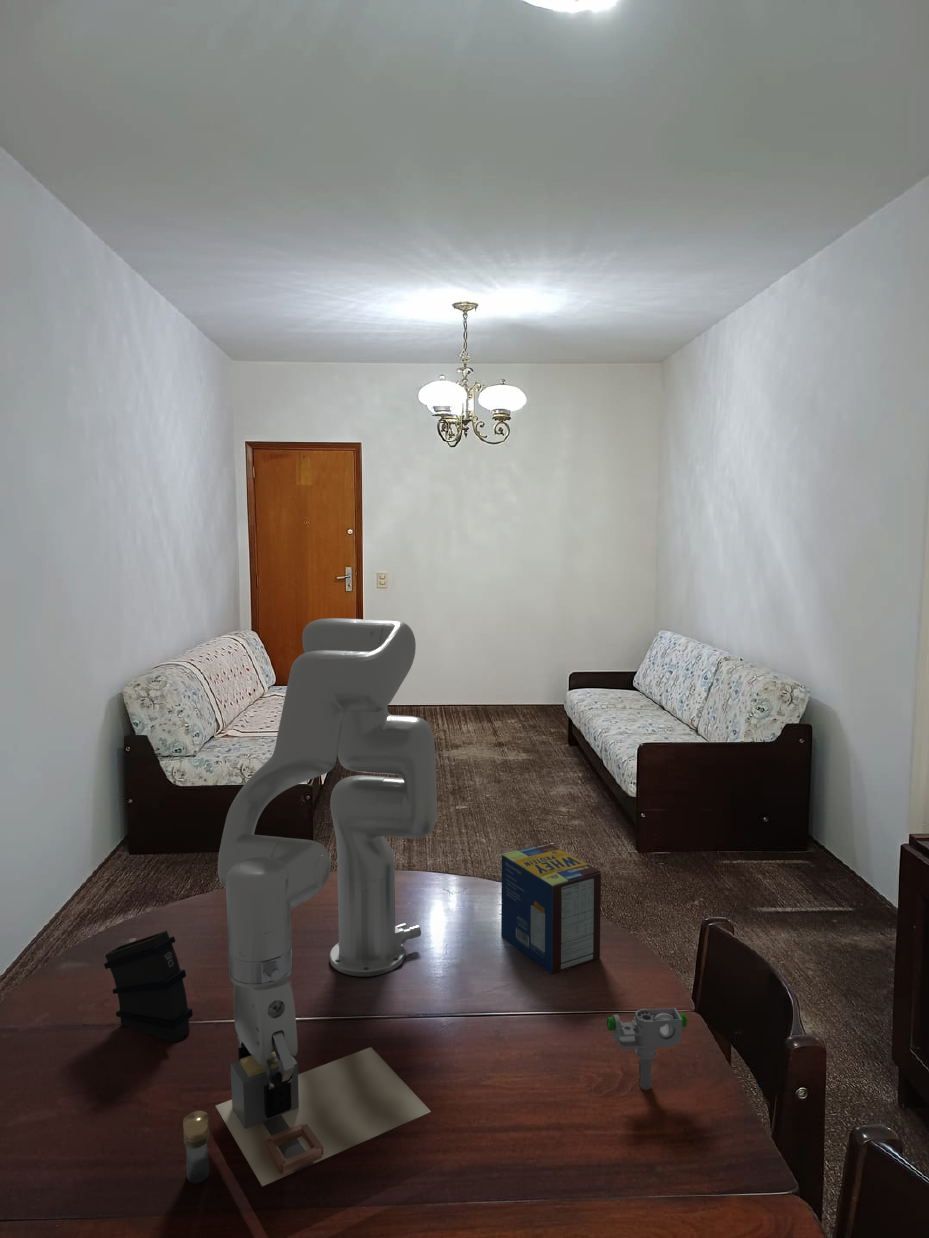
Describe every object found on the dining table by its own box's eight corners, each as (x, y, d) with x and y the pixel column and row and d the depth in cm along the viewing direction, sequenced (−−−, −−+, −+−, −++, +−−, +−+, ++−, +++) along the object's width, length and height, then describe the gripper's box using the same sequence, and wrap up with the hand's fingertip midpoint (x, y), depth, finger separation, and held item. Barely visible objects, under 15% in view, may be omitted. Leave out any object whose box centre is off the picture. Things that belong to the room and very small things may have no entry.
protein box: (546, 922, 164) (547, 841, 162) (601, 958, 151) (602, 871, 149) (499, 936, 158) (499, 853, 156) (551, 975, 145) (552, 884, 143)
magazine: (190, 1040, 125) (151, 939, 126) (129, 1055, 131) (93, 959, 132) (209, 1026, 128) (171, 928, 129) (149, 1041, 134) (112, 947, 135)
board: (371, 1054, 124) (370, 1040, 124) (431, 1120, 111) (431, 1103, 111) (215, 1114, 112) (215, 1098, 112) (262, 1195, 99) (261, 1177, 99)
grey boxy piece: (285, 1087, 115) (283, 1040, 115) (298, 1107, 112) (297, 1058, 111) (232, 1107, 112) (230, 1059, 111) (244, 1128, 108) (243, 1078, 107)
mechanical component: (604, 1080, 119) (605, 1010, 118) (679, 1076, 120) (681, 1006, 118) (609, 1095, 116) (611, 1023, 115) (686, 1090, 117) (688, 1019, 115)
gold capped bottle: (206, 1162, 104) (204, 1107, 103) (214, 1177, 102) (212, 1121, 101) (182, 1172, 102) (179, 1116, 102) (189, 1188, 100) (187, 1130, 99)
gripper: (318, 983, 104) (321, 1121, 106) (263, 925, 118) (267, 1047, 120) (256, 1003, 100) (261, 1146, 102) (207, 940, 114) (212, 1066, 116)
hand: (264, 1092), depth 111 cm, fingers open, 8 cm apart
